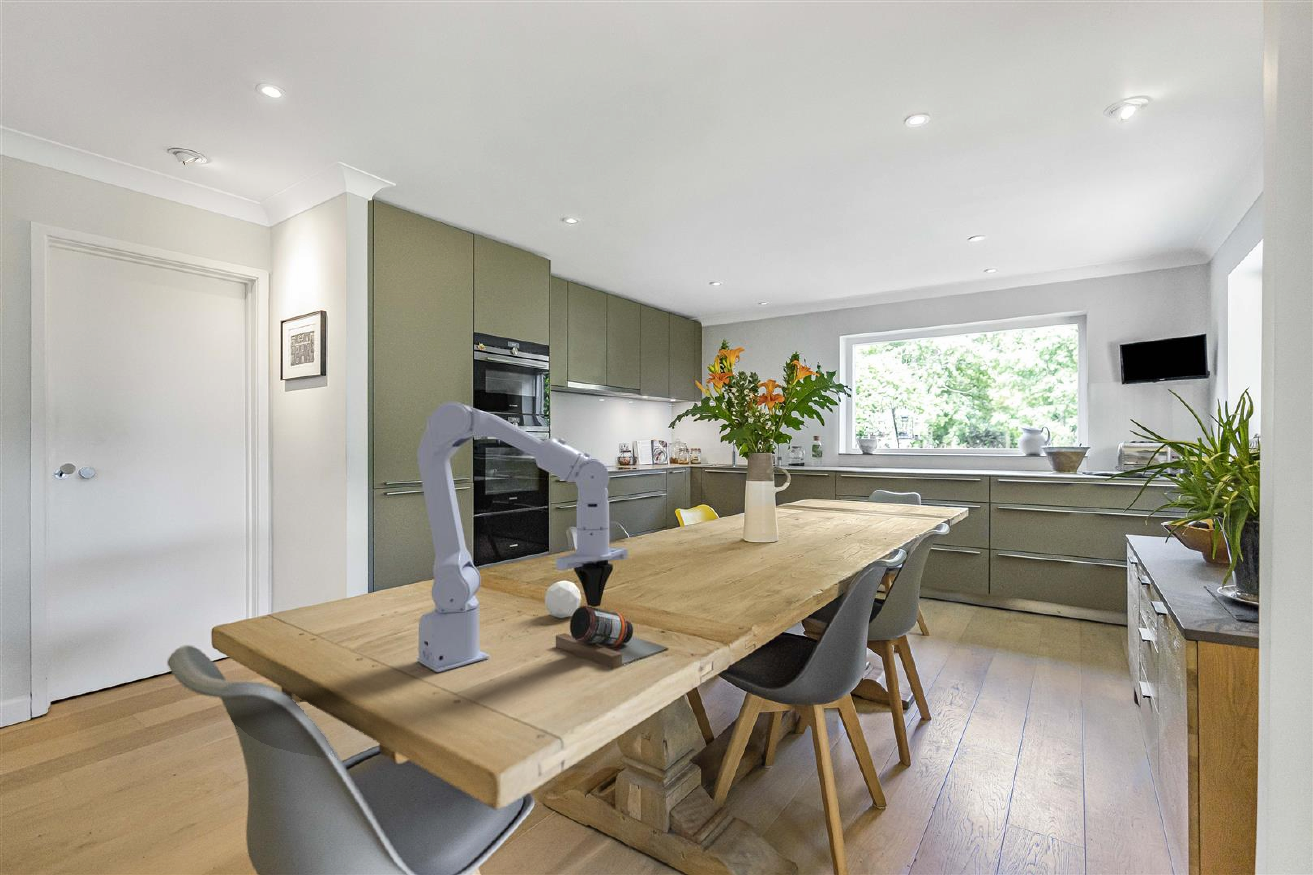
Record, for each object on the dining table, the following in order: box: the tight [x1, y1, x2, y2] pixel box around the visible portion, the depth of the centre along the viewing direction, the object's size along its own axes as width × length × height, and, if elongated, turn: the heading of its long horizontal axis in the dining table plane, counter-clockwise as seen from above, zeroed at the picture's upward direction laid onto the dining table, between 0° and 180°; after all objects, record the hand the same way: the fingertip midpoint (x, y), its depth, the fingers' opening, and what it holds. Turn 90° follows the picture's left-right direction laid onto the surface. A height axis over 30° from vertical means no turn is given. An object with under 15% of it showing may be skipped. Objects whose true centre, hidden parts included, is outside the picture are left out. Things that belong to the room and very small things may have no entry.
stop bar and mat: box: [555, 632, 669, 670], centre depth 107 cm, size 13×16×2 cm
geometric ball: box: [544, 580, 582, 619], centre depth 128 cm, size 8×8×8 cm
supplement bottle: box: [569, 605, 634, 647], centre depth 106 cm, size 6×6×11 cm
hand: (593, 605), depth 105 cm, fingers closed
